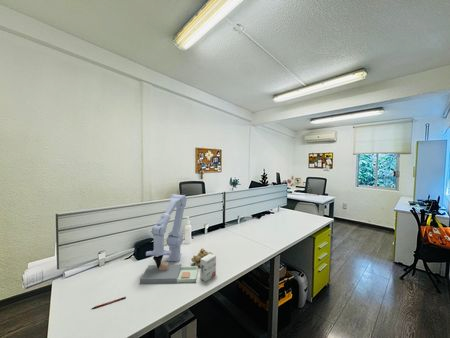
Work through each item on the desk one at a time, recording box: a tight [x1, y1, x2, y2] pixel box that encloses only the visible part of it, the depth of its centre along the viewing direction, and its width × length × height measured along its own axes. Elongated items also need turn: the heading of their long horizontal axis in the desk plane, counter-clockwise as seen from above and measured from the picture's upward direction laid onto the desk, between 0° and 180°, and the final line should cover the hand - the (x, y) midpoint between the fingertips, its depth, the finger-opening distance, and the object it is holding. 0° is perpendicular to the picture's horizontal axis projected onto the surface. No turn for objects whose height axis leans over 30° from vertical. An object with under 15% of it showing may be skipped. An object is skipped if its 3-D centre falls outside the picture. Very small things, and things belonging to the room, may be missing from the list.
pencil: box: [91, 296, 127, 310], centre depth 83 cm, size 1×14×1 cm, turn 121°
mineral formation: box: [190, 247, 214, 267], centre depth 116 cm, size 8×13×15 cm
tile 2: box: [181, 272, 190, 279], centre depth 101 cm, size 4×4×2 cm
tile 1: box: [159, 262, 170, 270], centre depth 107 cm, size 4×4×2 cm
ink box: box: [199, 252, 217, 282], centre depth 103 cm, size 9×5×12 cm, turn 141°
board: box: [139, 264, 182, 285], centre depth 104 cm, size 13×20×2 cm, turn 93°
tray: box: [176, 265, 199, 284], centre depth 104 cm, size 12×10×2 cm
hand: (158, 266), depth 107 cm, fingers closed
